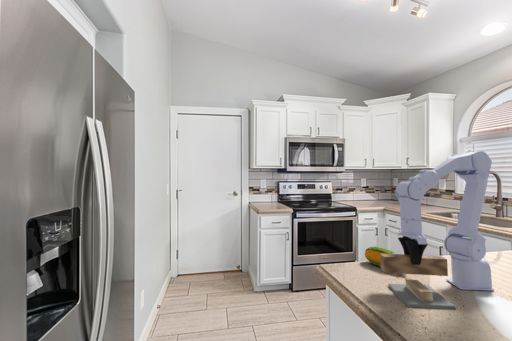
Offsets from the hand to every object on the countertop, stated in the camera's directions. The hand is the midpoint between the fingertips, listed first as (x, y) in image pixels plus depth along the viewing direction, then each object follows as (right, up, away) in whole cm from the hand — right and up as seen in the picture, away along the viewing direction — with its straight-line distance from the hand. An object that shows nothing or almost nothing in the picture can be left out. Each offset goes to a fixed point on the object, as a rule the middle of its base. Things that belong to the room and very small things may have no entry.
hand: (413, 262), depth 79 cm
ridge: (-1, -9, -4) cm, 10 cm away
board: (-1, -9, -4) cm, 10 cm away
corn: (+3, -10, +22) cm, 25 cm away
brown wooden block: (0, -3, 0) cm, 3 cm away
